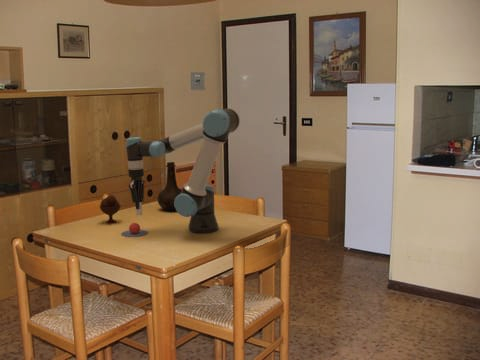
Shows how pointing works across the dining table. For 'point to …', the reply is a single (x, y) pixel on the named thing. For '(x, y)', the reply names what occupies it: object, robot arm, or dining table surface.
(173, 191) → the dark brown vase
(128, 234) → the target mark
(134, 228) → the ball
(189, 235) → the dining table surface
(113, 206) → the ice cream bowl
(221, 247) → the dining table surface
